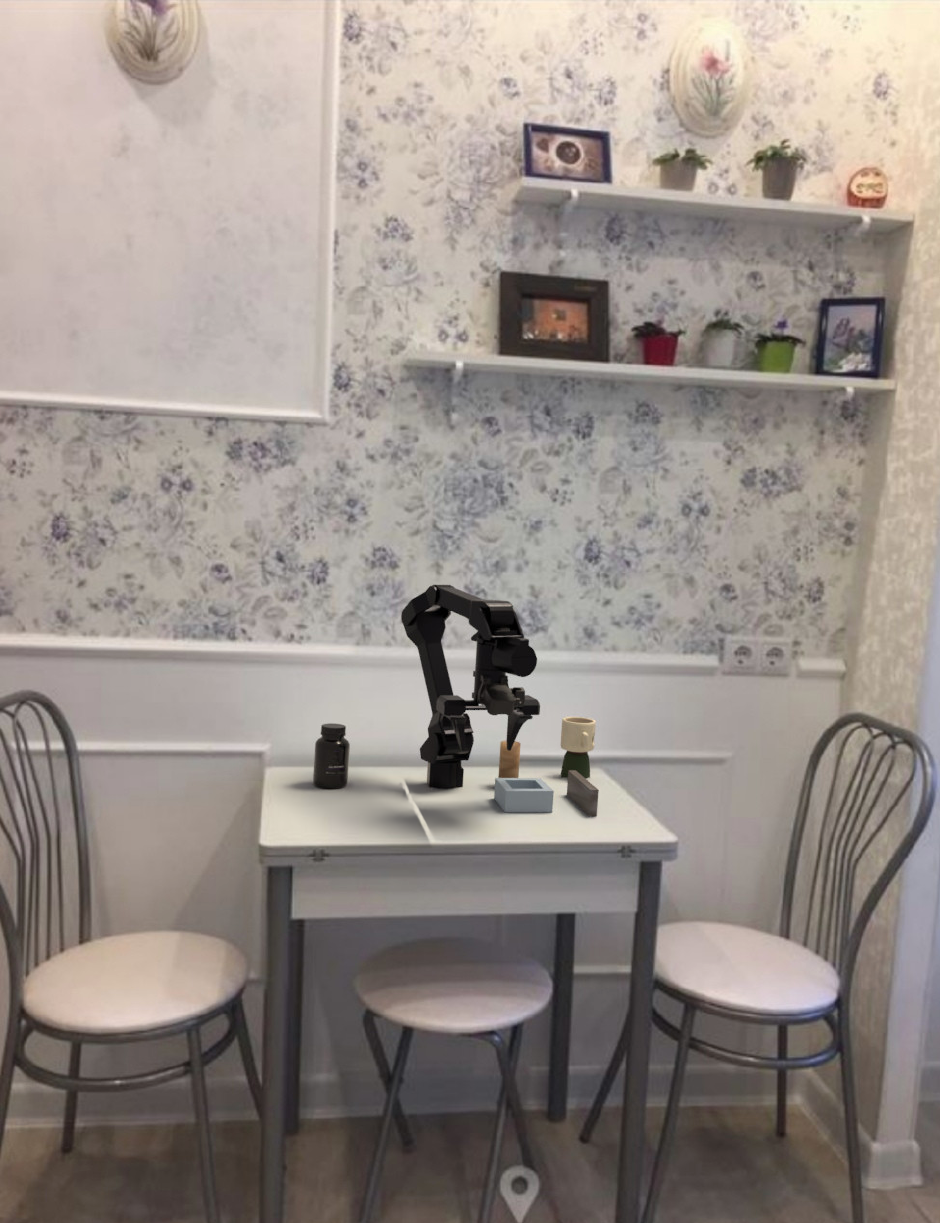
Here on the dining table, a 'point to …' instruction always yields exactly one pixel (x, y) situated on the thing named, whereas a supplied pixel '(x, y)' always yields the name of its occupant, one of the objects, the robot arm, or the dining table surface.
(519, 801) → the sliding block
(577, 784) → the base board
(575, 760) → the character mug
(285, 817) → the dining table surface
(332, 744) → the supplement bottle
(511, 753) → the dowel
